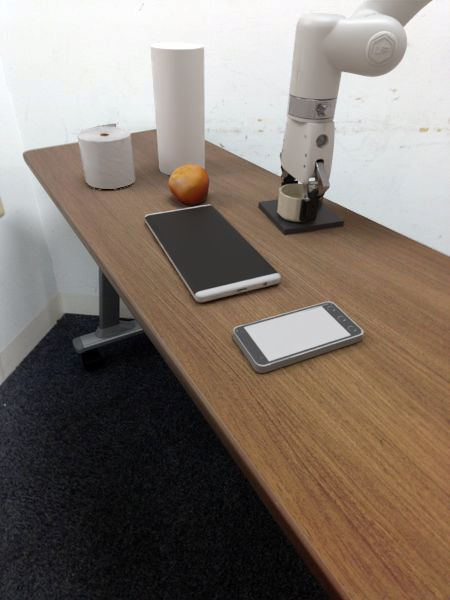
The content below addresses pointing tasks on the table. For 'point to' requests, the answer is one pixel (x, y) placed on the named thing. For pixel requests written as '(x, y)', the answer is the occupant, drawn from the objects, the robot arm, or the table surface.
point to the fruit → (189, 184)
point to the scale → (322, 221)
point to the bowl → (290, 201)
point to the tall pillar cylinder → (179, 104)
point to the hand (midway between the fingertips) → (297, 210)
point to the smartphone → (296, 336)
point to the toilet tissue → (107, 156)
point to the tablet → (210, 253)
